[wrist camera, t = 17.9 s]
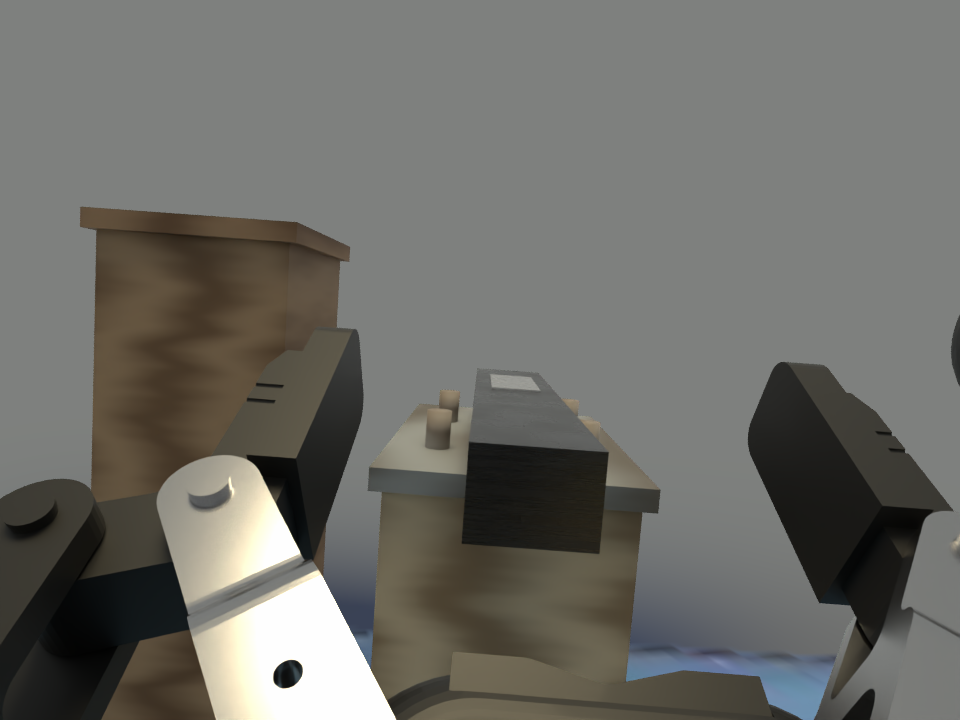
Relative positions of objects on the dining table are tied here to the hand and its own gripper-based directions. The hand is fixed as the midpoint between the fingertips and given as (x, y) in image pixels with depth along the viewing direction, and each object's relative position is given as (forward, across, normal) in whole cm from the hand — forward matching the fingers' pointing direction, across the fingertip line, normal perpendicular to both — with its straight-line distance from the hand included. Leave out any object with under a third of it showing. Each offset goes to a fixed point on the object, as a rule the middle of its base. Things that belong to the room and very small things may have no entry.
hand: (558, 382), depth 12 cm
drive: (+11, 0, +13) cm, 17 cm away
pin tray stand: (+4, 0, +34) cm, 34 cm away
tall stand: (+7, +17, +35) cm, 40 cm away
